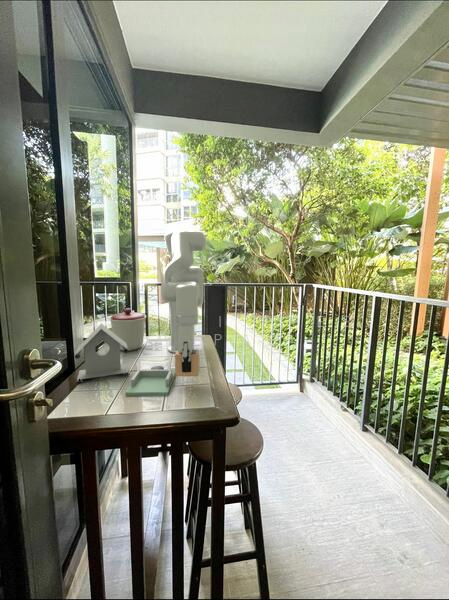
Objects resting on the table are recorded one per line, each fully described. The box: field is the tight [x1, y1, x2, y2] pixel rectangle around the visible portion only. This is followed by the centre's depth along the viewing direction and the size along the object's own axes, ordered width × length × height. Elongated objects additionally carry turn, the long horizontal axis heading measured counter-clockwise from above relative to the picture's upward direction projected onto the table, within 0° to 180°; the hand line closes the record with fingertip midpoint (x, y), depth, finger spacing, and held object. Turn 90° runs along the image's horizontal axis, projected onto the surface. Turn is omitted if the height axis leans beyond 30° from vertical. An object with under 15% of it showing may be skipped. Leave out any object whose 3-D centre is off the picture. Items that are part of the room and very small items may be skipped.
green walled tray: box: [125, 365, 176, 397], centre depth 101 cm, size 20×14×4 cm
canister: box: [108, 307, 147, 352], centre depth 140 cm, size 18×18×21 cm
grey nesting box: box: [74, 323, 130, 382], centre depth 106 cm, size 18×10×20 cm, turn 114°
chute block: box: [174, 349, 200, 378], centre depth 97 cm, size 5×8×8 cm, turn 92°
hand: (187, 368), depth 98 cm, fingers closed on chute block, 5 cm apart
